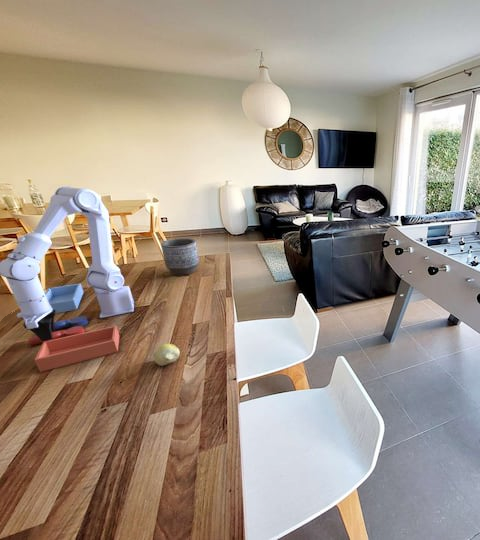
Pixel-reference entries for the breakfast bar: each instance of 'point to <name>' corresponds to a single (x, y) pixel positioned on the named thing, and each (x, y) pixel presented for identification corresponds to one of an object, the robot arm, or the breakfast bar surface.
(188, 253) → the planter
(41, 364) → the red bin
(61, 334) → the red spoon
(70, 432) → the breakfast bar surface
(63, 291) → the blue bin
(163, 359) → the fruit
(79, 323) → the navy spoon
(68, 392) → the breakfast bar surface
